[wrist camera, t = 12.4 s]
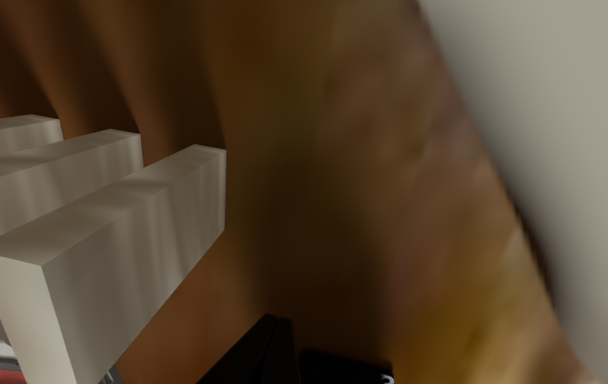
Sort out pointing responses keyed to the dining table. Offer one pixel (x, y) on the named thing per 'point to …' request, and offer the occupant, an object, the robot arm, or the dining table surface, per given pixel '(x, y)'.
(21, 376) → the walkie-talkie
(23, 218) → the domino
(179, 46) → the dining table surface
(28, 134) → the domino
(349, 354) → the dining table surface
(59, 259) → the domino
